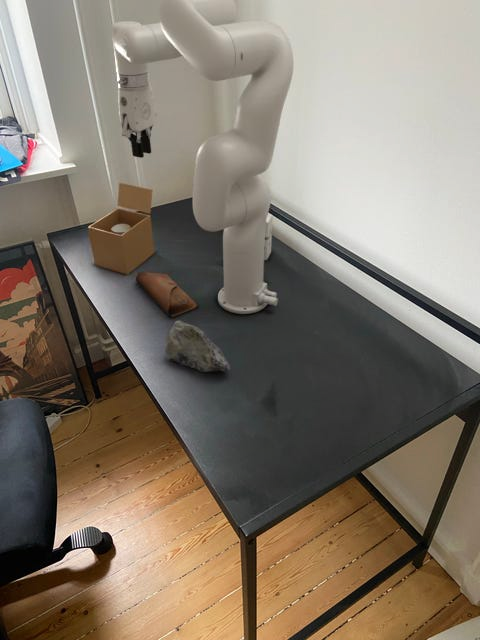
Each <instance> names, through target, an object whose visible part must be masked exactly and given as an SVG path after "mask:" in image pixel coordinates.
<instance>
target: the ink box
mask: <svg viewBox="0 0 480 640" xmlns="http://www.w3.org/2000/svg"><path fill="white" fill-rule="evenodd" d="M273 217H274V216H273V214H271V213H268V215H267V220H266V227H265V244H264V261H267V260H268V259H269V257H270V255H271V253H272V241H273V240H272V239H273Z"/></svg>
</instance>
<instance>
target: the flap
mask: <svg viewBox="0 0 480 640" xmlns="http://www.w3.org/2000/svg"><path fill="white" fill-rule="evenodd" d="M153 191H154V190H153V189H150V188H147V187H142V186H137V185H132V184H128V183H123V182H119V183H118V193H117V207H121V208H124V209H128V210H129V209H130V210H132V211H138V212H142V213H145V214H151V212H152V201H153Z"/></svg>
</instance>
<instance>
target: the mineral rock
mask: <svg viewBox="0 0 480 640" xmlns="http://www.w3.org/2000/svg"><path fill="white" fill-rule="evenodd" d="M165 357H166V360H167V361H168V362H176V363H178V364H180V365H181V366H188V367H190V368H192V369H196V370H198V371H199V372H201V373H207V372H229V371H230V370H231V369H232V368H231V366H230V364H229V362H228V360H227V358H225V355H224V353H223V351H221V349H220V348H219V347H218V345H216V344H215V343H214V342H212V341H211V340H210V339H209V338H208V337H207V336H206V335H205V332H204V331H203V330H202V329H200V328H199V327H198V326H195V325H193V324H190V323H187V322H186V323H185V322H184V321H182V320H176V321H174V323H173V325H172V327H171V329H170V331H169V333H168V336H167V340H166V346H165Z"/></svg>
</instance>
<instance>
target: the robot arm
mask: <svg viewBox="0 0 480 640" xmlns="http://www.w3.org/2000/svg"><path fill="white" fill-rule="evenodd" d="M236 17H237V5H236V3H235V0H160V3H159V7H158V22H156V23H155V22H154V23H147V24H141V22H138V21H132V20H131V21H130V20H125V21H124V20H123V21H117V22H114V23H113V24H112V25H111V28H110V33H111V40H112V50H113V54H114V63H115V64H114V65H115V71H116V77H117V84H118V85H117V86H118V94H117V96H118V98H117V99H118V100H117V101H118V115H119V122H120V128H121V129H122V132H121V136H122V137H123V138H127V139H128V141H129V142H130V146H131V153H132V157H135V158H141V159H142V158H144V157H145V156H144V155H145V154H149V155H150V154H151V153H152V145H151V137H152V129H153V127H154V126H155V124H156V123H158V113H157V107H156V106H157V105H156V100H155V95H154V90H153V87H152V84H151V83H150V75H149V65H148V64H149V63H150V64H151V63H155V62H162V61H168V60H174V59H177V58H180V57H183V58H184V59H185V60H186V61H187V63H189V65H191V67H192V68H193V69H194V70H195V71H196V72H197V73H198V74H199V75H201V76H202V77H203V78H205V79H207V80H210V81H213V82H219V81H225V80H231V79H235V78H240V77H241V78H242V77H245V76H251V78H250V80H249V81H248V84H246V86H245V87H244V89H243V91H242V93H241V95H240V97H239V99H238V103H237V106H236V111H235V118H234V123H233V126H232V128H231V129H230V130H228V131H225V132H222V133H218V134H215V135H212V136H210V137H208V138H206V139H205V140H204V141H203V142H202V144H201V145H200V146H199V148H198V150H197V152H196V158H195V166H194V175H193V176H194V177H193V188H192V189H193V190H192V212H193V216H194V219H195V221H196V223H197V225H198V226H199V227H200V228H201V229H202V230H204V231H206V232H209V233H210V232H212V233H215V232H219V231H223V233H222V260H223V261H222V264H223V269H222V270H223V287H222V288H221V289H220V290H219V291H218V294H217V301H218V304H219V306H220V307H221V308H222V309H224V310H225V311H227V312H230V313H233V314H239V315H248V314H254V313H258V312H260V311H261V310H263V309H265V308H266V306H268V305H270V306H273V307H276V306H277V305H278V302H279V299H278V292H275V291H270V290H269V289H268V283H266V282H265V281H264V273H265V272H264V271H265V260H264V244H265V227H266V220H267V215H268V214H269V210H270V206H271V200H272V195H271V194H272V193H271V187H270V186H269V183H268V182H267V180H266V179H265V178H264V177H263V176H261V174H263V173H265V172H266V171H267V170H268V169H269V168H270V165H271V163H272V162H273V161H272V160H273V156H274V153H275V148H276V144H277V139H278V133H279V128H280V124H281V118H282V113H283V109H284V105H285V102H286V99H287V96H288V93H289V90H290V87H291V83H292V79H293V74H294V51H293V48H292V44H291V42H290V39H289V37H288V35H287V33H286V32H285V30H284V29H283V28H282V27H281V26H280V25H278V24H276V23H275V22H273V21H269V20H261V19H260V20H247V21H240V22H236Z"/></svg>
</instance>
